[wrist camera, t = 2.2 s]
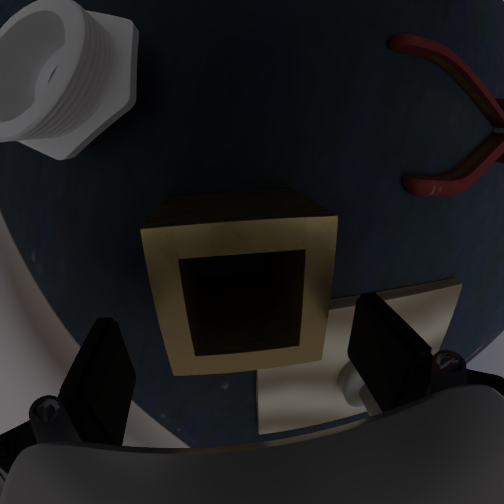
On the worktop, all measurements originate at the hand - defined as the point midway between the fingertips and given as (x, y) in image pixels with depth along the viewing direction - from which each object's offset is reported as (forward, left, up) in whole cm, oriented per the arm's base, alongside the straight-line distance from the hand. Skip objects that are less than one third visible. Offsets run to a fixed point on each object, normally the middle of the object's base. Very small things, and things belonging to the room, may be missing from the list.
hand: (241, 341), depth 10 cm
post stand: (+10, +10, -7) cm, 16 cm away
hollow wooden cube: (-1, 0, -7) cm, 7 cm away
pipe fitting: (-11, -7, -7) cm, 15 cm away
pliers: (-9, +20, -8) cm, 23 cm away
